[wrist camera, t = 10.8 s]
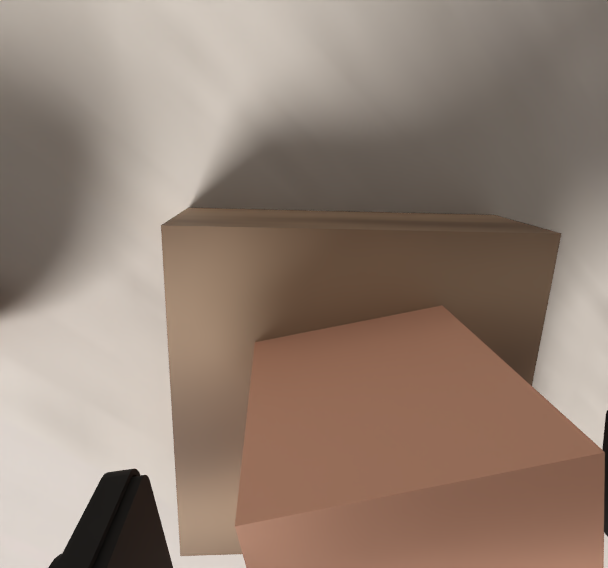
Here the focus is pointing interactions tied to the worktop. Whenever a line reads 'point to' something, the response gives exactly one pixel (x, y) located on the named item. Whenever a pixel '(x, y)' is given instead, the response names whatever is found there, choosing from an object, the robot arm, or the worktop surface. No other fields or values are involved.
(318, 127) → the worktop surface
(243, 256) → the walnut base
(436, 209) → the worktop surface
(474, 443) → the salmon pink block
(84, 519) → the robot arm
